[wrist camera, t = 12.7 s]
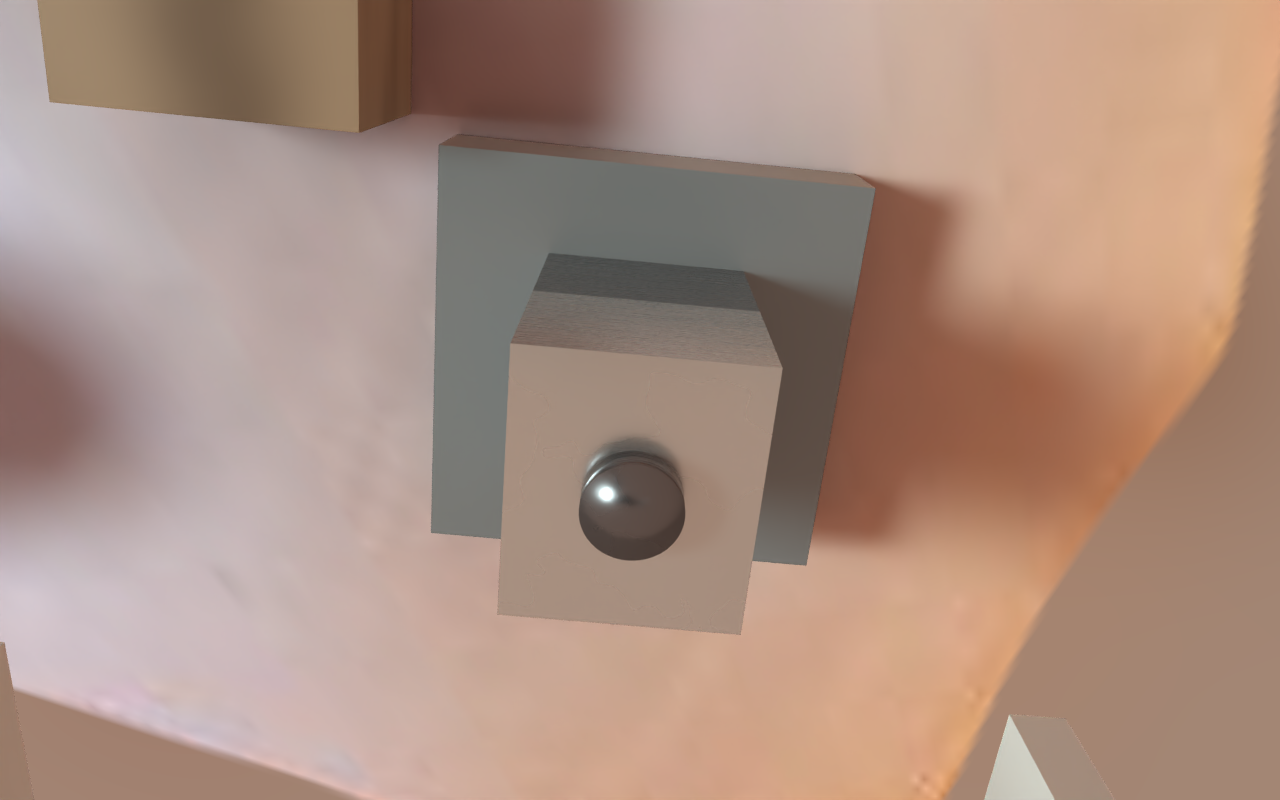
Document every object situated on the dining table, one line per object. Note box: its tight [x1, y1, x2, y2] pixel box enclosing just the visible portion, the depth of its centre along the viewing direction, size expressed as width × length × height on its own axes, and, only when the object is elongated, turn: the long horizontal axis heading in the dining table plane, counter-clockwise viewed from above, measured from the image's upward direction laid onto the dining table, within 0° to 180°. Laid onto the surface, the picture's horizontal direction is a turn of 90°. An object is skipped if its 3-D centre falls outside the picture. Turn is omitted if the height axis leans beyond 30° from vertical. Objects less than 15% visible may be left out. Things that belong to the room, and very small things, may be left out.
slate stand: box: [431, 134, 876, 565], centre depth 32 cm, size 13×13×3 cm
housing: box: [497, 253, 783, 635], centre depth 26 cm, size 6×7×10 cm
